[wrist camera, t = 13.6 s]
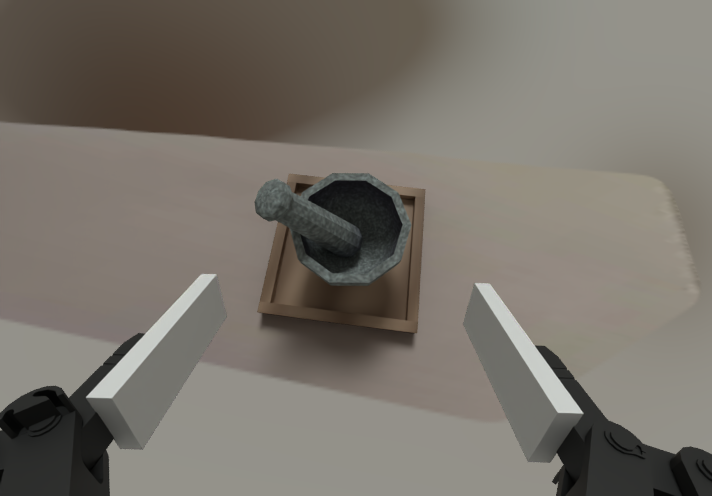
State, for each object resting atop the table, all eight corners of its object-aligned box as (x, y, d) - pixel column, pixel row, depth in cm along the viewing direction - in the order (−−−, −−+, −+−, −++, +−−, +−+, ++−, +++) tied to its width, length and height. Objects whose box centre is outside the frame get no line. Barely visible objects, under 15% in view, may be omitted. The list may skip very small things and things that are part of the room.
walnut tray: (262, 313, 27) (257, 312, 26) (291, 180, 32) (289, 173, 30) (413, 333, 27) (417, 333, 25) (422, 196, 31) (425, 189, 30)
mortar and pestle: (396, 208, 30) (422, 131, 18) (400, 295, 27) (434, 267, 16) (293, 208, 30) (255, 130, 18) (286, 294, 27) (237, 266, 16)
